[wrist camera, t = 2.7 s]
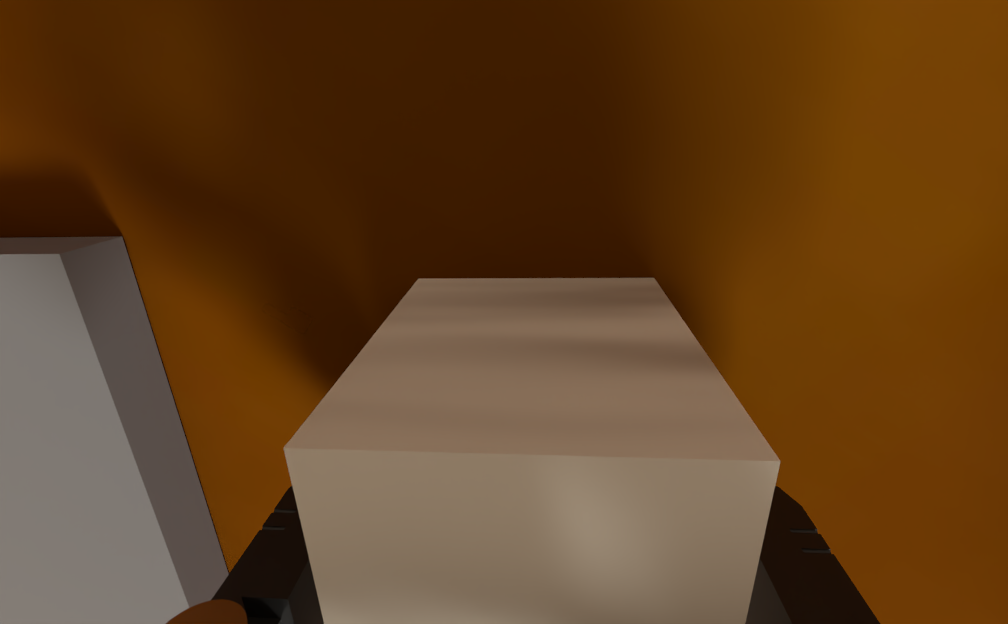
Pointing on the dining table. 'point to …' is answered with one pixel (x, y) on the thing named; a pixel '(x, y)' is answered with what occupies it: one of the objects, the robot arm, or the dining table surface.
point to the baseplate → (92, 448)
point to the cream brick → (532, 464)
